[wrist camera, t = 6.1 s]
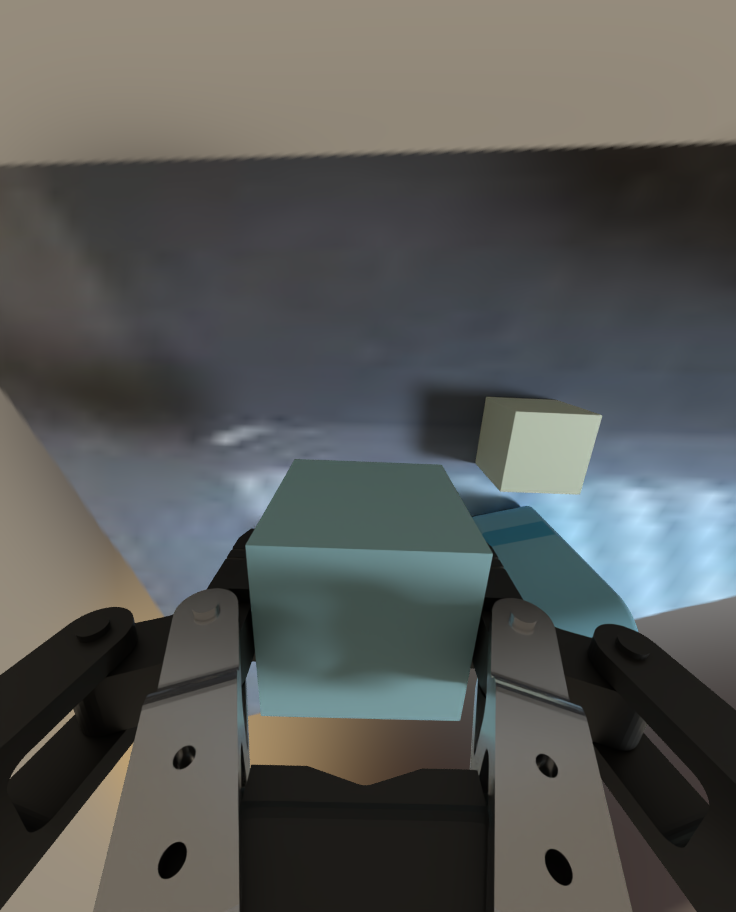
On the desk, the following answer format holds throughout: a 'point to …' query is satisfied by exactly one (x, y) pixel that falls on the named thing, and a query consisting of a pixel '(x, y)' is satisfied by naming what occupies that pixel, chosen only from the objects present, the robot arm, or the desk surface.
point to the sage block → (536, 445)
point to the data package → (552, 572)
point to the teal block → (365, 592)
